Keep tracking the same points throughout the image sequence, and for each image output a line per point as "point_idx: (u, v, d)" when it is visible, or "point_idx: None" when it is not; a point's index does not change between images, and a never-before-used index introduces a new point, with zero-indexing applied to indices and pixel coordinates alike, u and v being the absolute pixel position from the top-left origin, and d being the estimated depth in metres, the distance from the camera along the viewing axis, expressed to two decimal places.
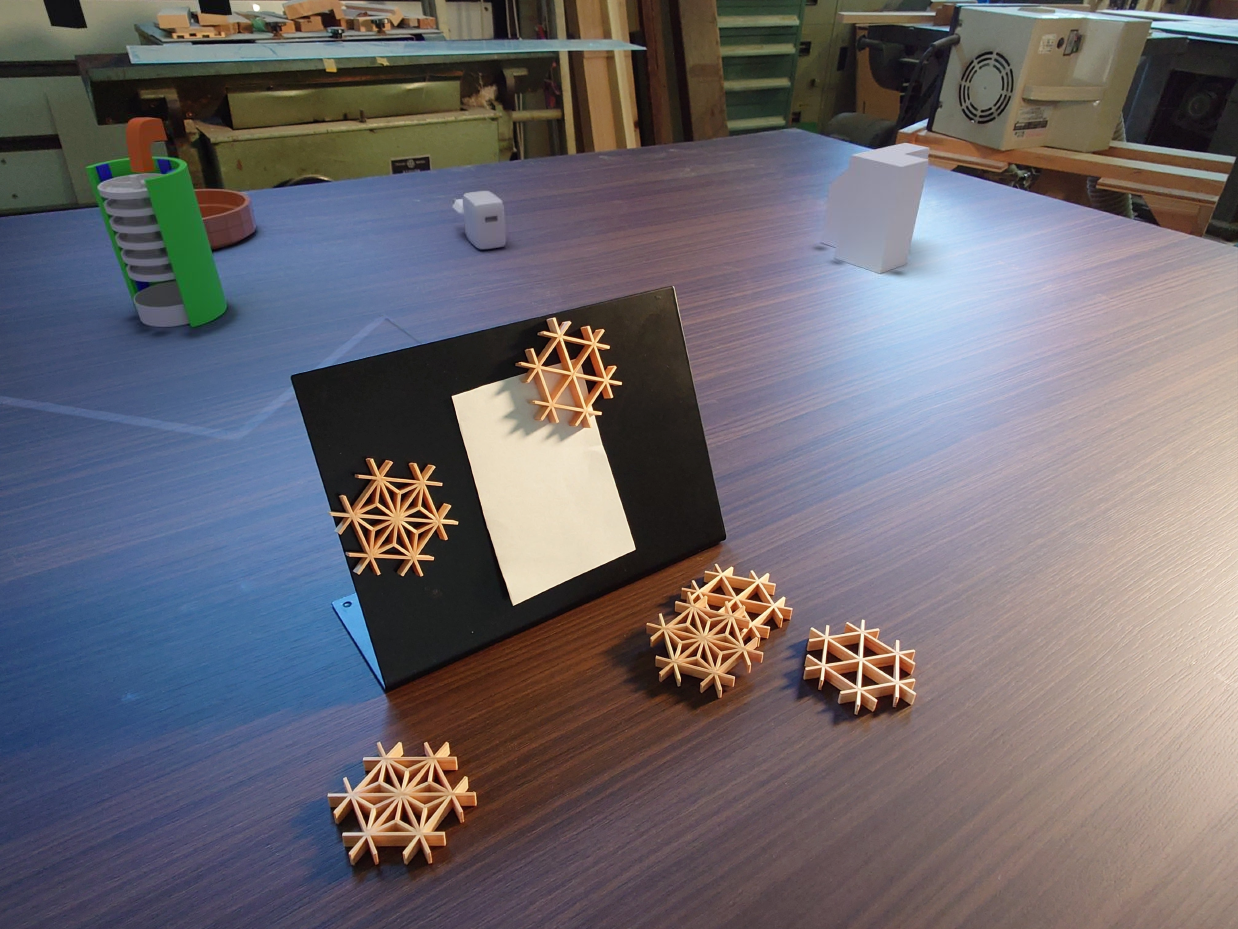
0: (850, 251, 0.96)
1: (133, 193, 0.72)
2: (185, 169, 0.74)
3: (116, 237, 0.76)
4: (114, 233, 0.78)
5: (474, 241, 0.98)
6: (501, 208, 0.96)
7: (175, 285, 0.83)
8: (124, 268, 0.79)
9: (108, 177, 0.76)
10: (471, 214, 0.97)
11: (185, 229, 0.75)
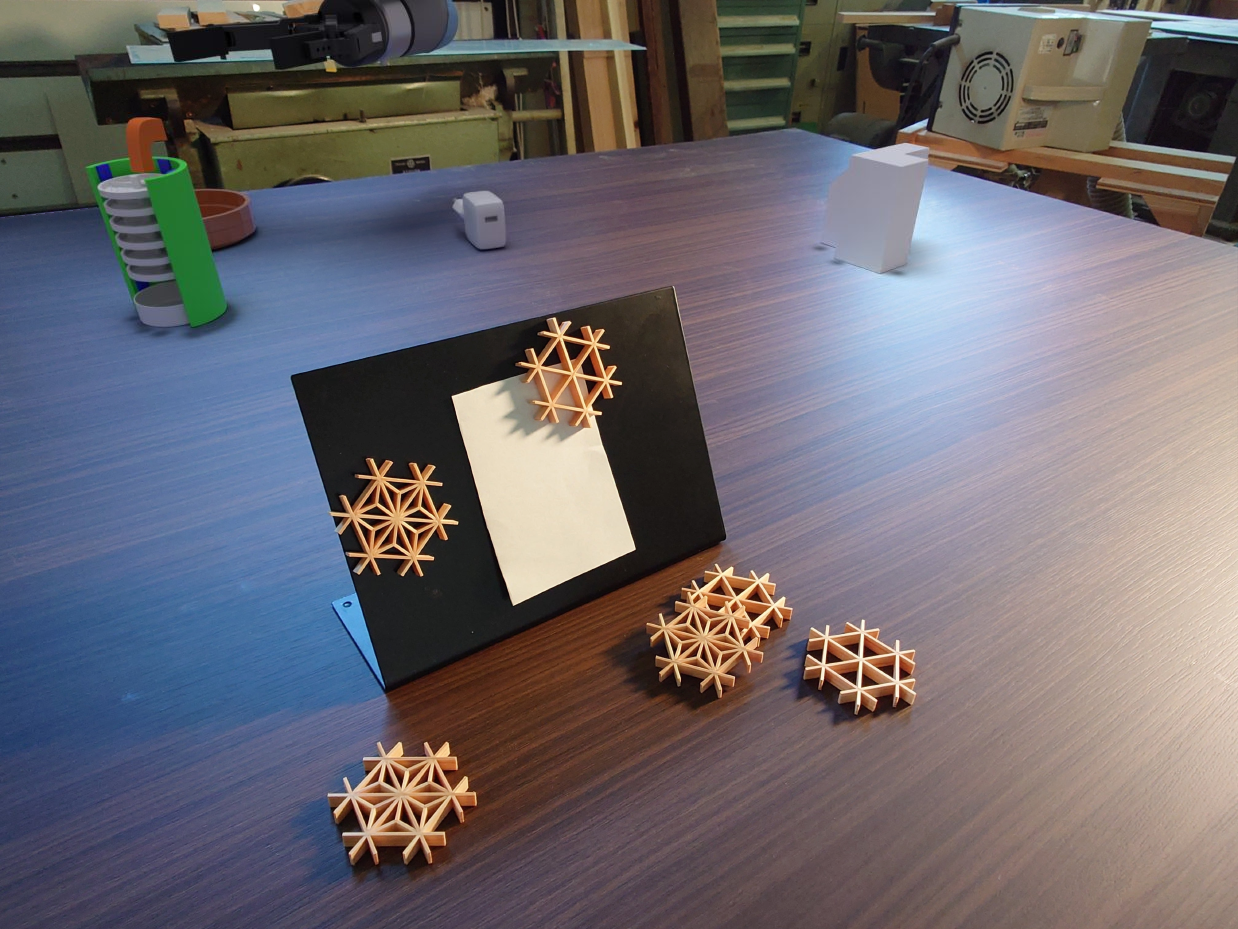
0: (850, 251, 0.96)
1: (133, 193, 0.72)
2: (185, 169, 0.74)
3: (116, 237, 0.76)
4: (114, 233, 0.78)
5: (474, 241, 0.98)
6: (501, 208, 0.96)
7: (175, 285, 0.83)
8: (124, 268, 0.79)
9: (108, 177, 0.76)
10: (471, 214, 0.97)
11: (185, 229, 0.75)
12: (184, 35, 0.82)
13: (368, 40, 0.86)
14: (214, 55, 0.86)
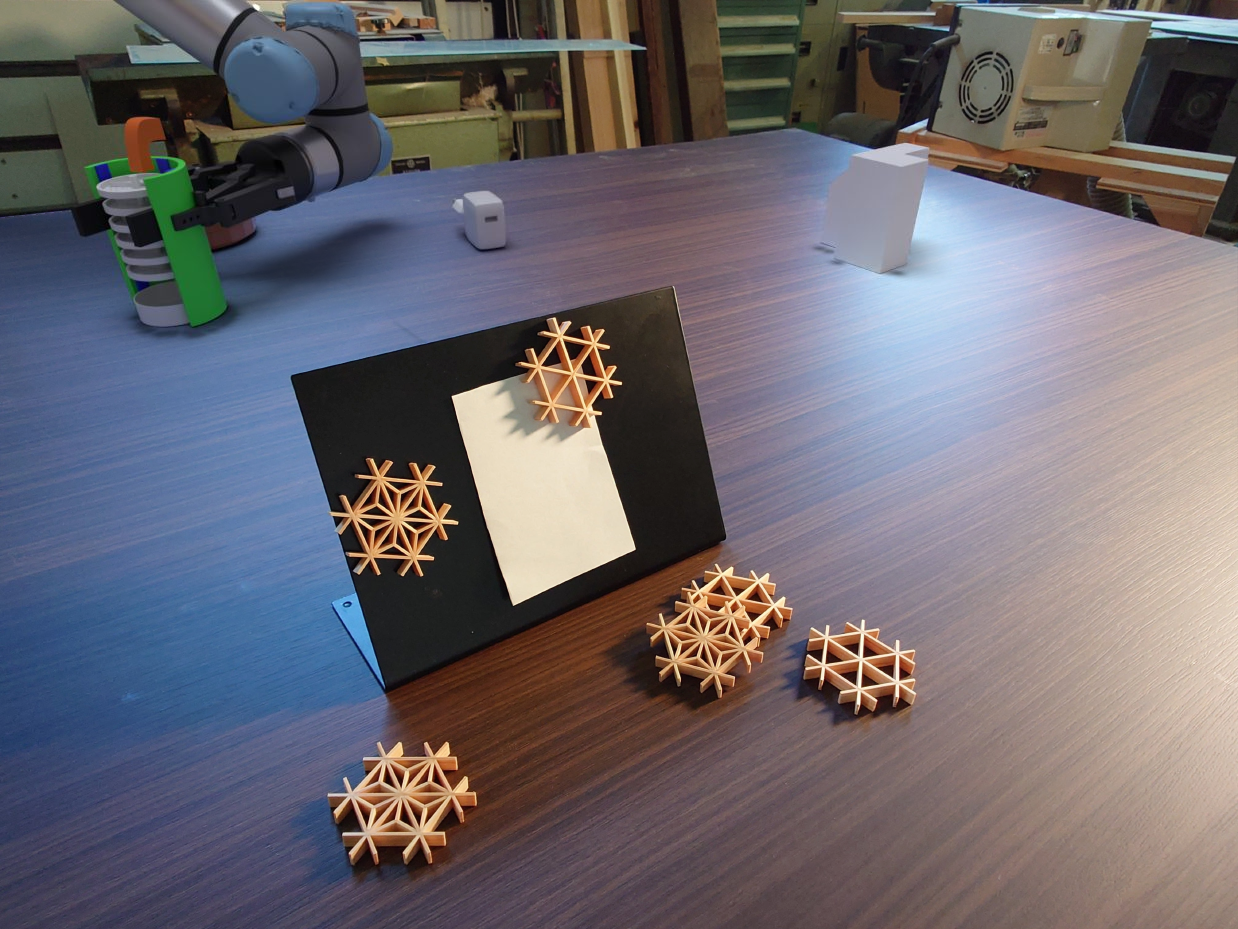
0: (850, 251, 0.96)
1: (132, 192, 0.72)
2: (184, 168, 0.74)
3: (115, 237, 0.76)
4: (113, 233, 0.78)
5: (474, 241, 0.98)
6: (501, 208, 0.96)
7: (175, 284, 0.83)
8: (123, 269, 0.79)
9: (107, 177, 0.76)
10: (471, 214, 0.97)
11: None
12: (91, 207, 0.74)
13: (263, 200, 0.80)
14: None
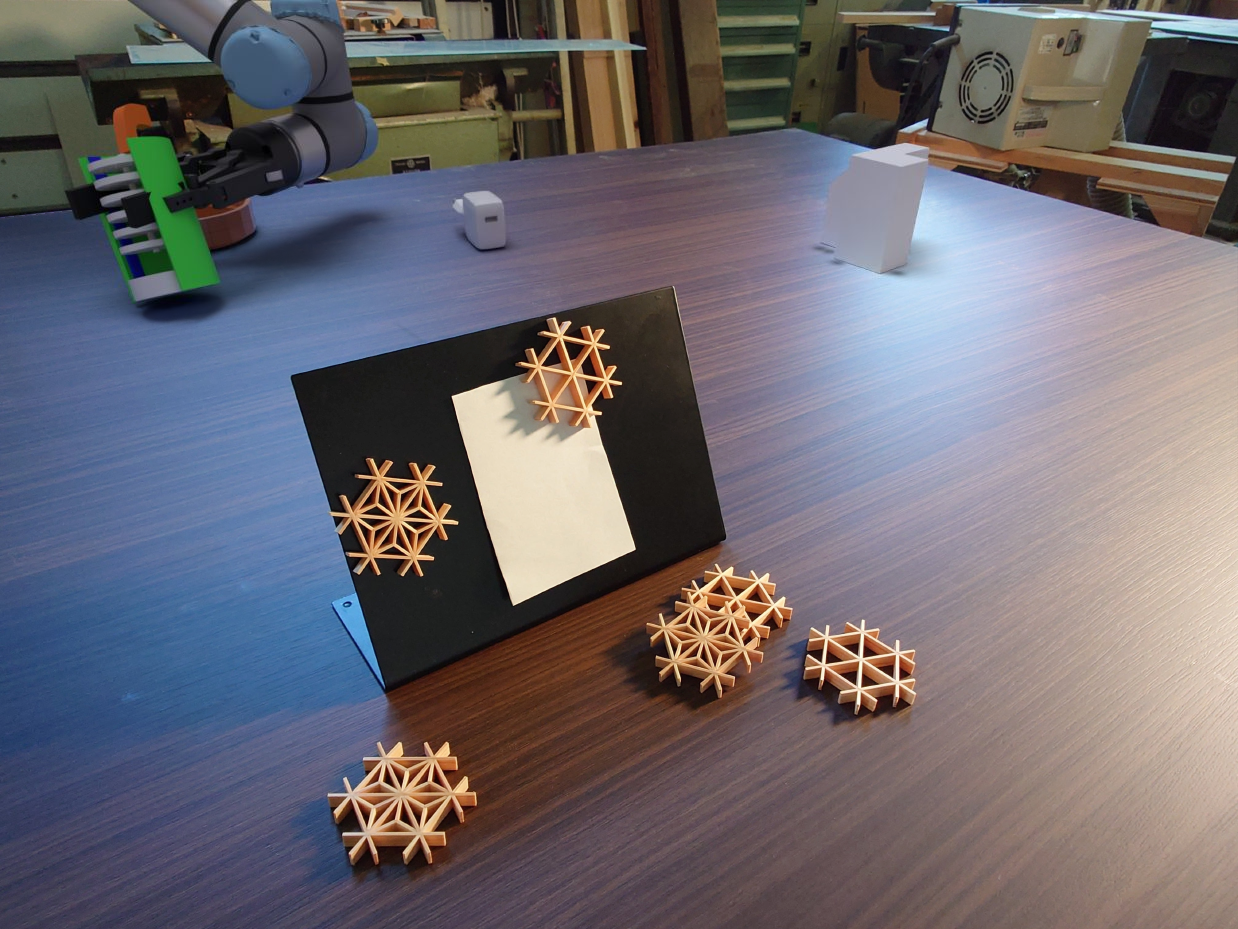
0: (850, 251, 0.96)
1: (117, 157, 0.75)
2: (167, 139, 0.78)
3: None
4: (108, 222, 0.80)
5: (474, 241, 0.98)
6: (501, 208, 0.96)
7: None
8: (119, 258, 0.81)
9: None
10: (471, 214, 0.97)
11: (169, 190, 0.77)
12: (85, 191, 0.77)
13: (253, 183, 0.83)
14: (120, 206, 0.81)
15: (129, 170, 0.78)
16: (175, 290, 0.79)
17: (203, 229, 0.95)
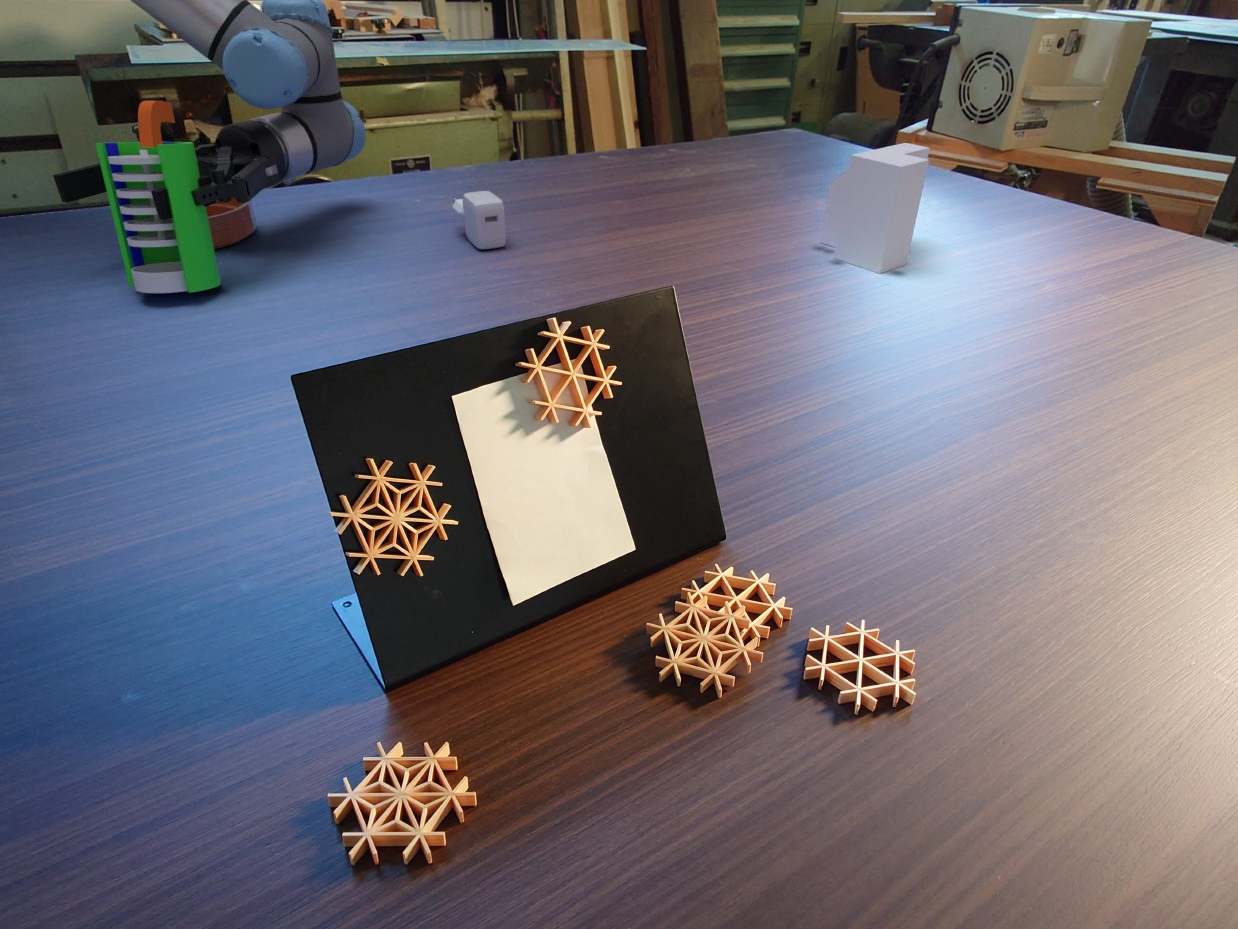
0: (850, 251, 0.96)
1: (144, 159, 0.77)
2: (192, 144, 0.81)
3: (121, 207, 0.80)
4: (116, 208, 0.82)
5: (474, 241, 0.98)
6: (501, 208, 0.96)
7: (168, 266, 0.87)
8: (122, 244, 0.83)
9: (115, 155, 0.81)
10: (471, 214, 0.97)
11: (190, 197, 0.80)
12: (72, 176, 0.83)
13: (260, 177, 0.88)
14: (105, 190, 0.87)
15: (149, 166, 0.80)
16: (181, 290, 0.83)
17: None
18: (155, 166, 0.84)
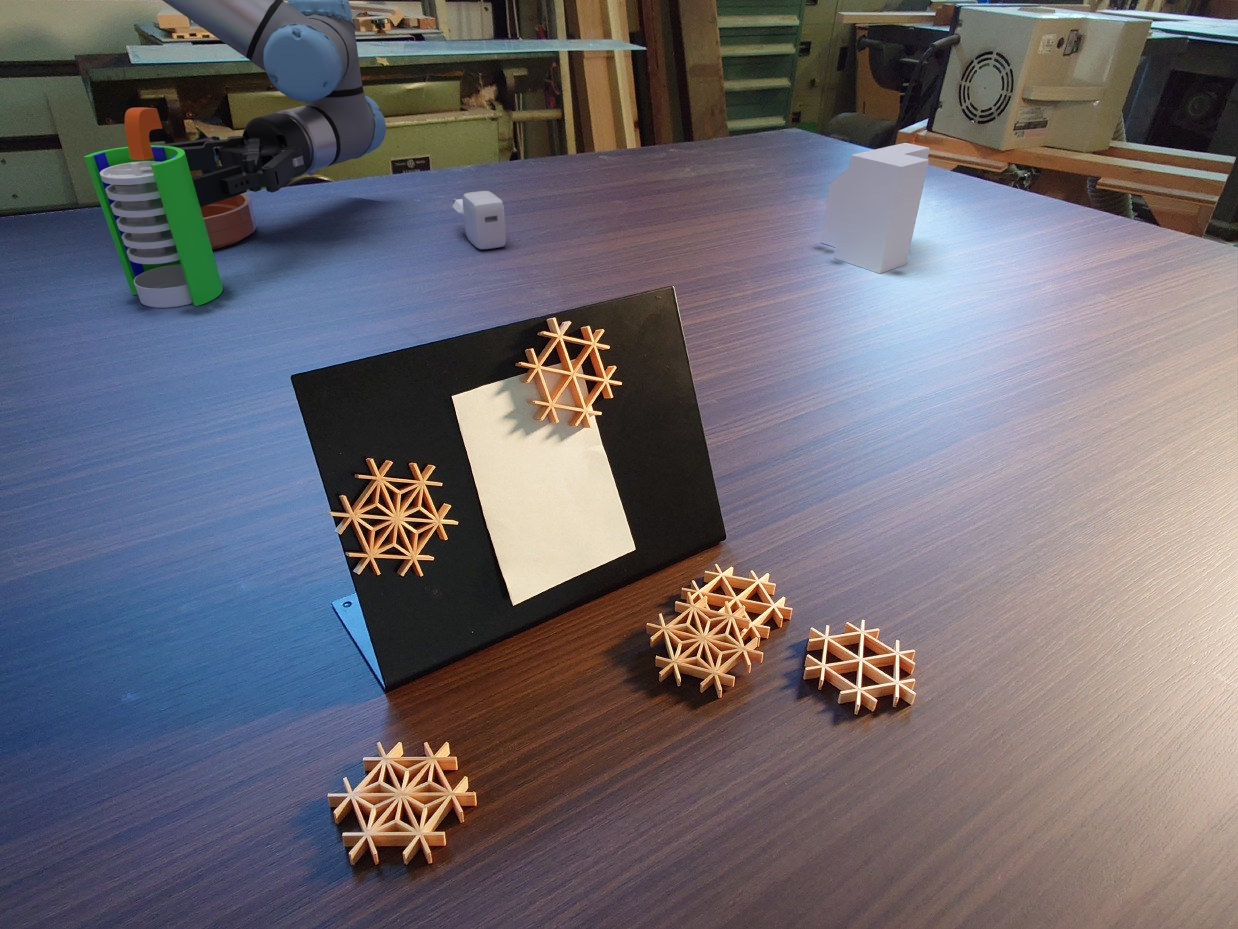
0: (850, 251, 0.96)
1: (139, 178, 0.76)
2: (184, 155, 0.79)
3: (118, 223, 0.79)
4: (112, 220, 0.81)
5: (474, 241, 0.98)
6: (501, 208, 0.96)
7: (168, 269, 0.87)
8: (121, 254, 0.83)
9: (105, 166, 0.79)
10: (471, 214, 0.97)
11: (188, 212, 0.79)
12: None
13: (288, 167, 0.91)
14: None
15: None
16: (186, 302, 0.83)
17: None
18: None
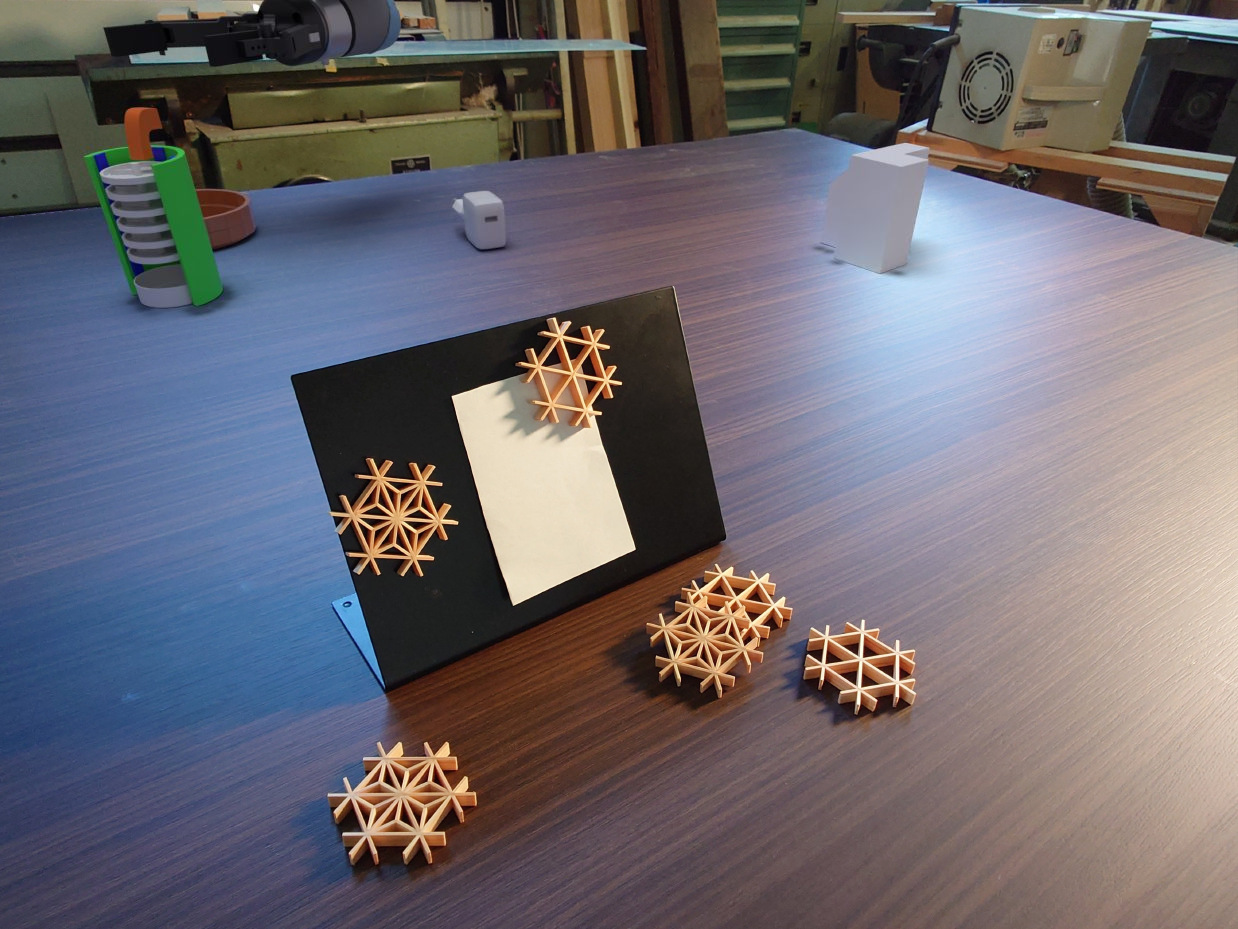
0: (850, 251, 0.96)
1: (139, 178, 0.76)
2: (184, 155, 0.79)
3: (118, 223, 0.79)
4: (112, 220, 0.81)
5: (474, 241, 0.98)
6: (501, 208, 0.96)
7: (168, 269, 0.87)
8: (121, 254, 0.83)
9: (105, 166, 0.79)
10: (471, 214, 0.97)
11: (188, 212, 0.79)
12: (122, 30, 0.84)
13: (305, 40, 0.89)
14: (152, 51, 0.88)
15: None
16: (186, 303, 0.83)
17: None
18: None
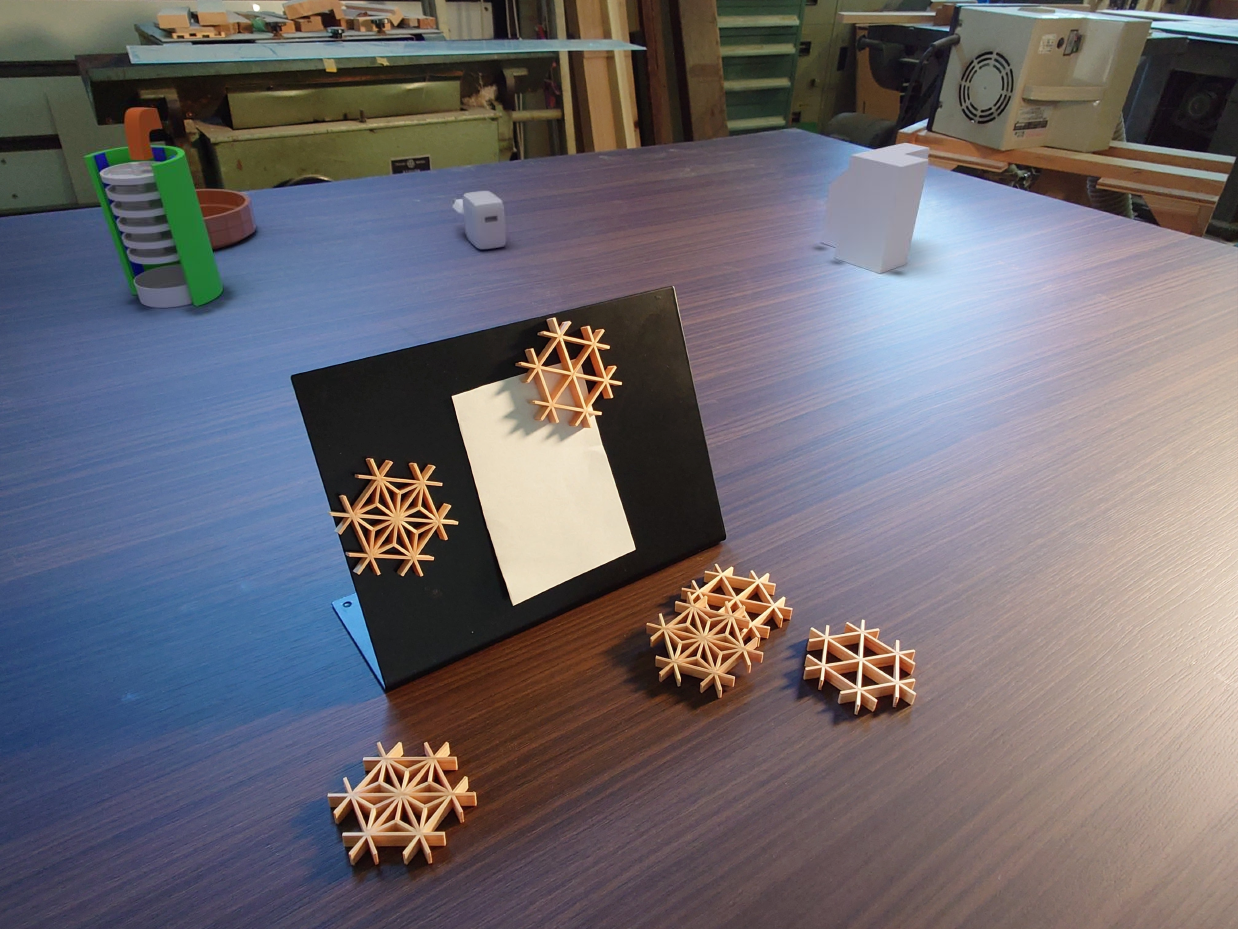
0: (850, 251, 0.96)
1: (139, 178, 0.76)
2: (184, 155, 0.79)
3: (118, 223, 0.79)
4: (112, 220, 0.81)
5: (474, 241, 0.98)
6: (501, 208, 0.96)
7: (168, 269, 0.87)
8: (121, 254, 0.83)
9: (105, 166, 0.79)
10: (471, 214, 0.97)
11: (188, 212, 0.79)
12: None
13: None
14: None
15: None
16: (186, 303, 0.83)
17: None
18: None
